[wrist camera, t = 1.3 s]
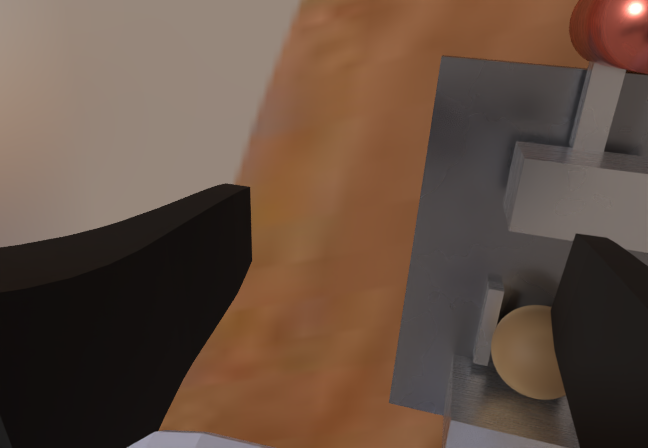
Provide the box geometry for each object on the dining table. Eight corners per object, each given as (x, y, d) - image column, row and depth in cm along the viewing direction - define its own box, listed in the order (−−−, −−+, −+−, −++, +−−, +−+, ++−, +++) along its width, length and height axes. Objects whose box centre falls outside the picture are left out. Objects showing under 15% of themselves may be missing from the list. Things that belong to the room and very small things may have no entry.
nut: (568, 372, 22) (586, 430, 19) (482, 354, 23) (484, 407, 20) (590, 298, 21) (613, 346, 18) (498, 282, 22) (503, 325, 18)
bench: (629, 441, 24) (674, 550, 19) (392, 387, 26) (374, 472, 21) (760, 84, 18) (876, 102, 13) (443, 55, 20) (435, 60, 15)
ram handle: (635, 217, 19) (688, 272, 15) (501, 198, 20) (511, 244, 16) (709, -20, 16) (803, -42, 12) (549, -29, 17) (579, -53, 13)
